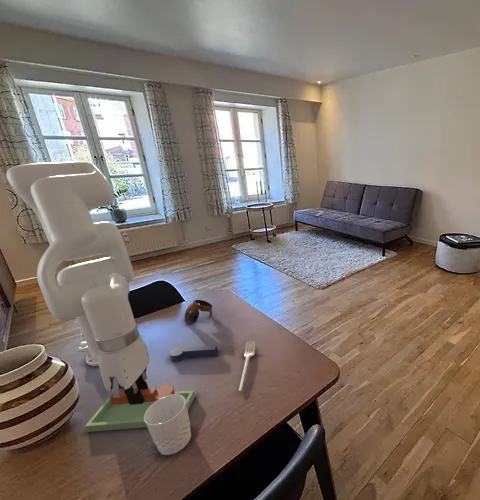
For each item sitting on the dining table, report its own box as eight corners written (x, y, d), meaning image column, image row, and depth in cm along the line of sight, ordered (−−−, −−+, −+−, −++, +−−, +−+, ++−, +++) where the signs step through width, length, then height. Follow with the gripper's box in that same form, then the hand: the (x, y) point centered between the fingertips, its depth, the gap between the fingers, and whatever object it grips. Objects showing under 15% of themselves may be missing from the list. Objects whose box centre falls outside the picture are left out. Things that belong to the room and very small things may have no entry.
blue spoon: (219, 349, 97) (218, 343, 96) (214, 358, 93) (213, 352, 92) (174, 352, 96) (173, 346, 95) (168, 361, 92) (166, 355, 91)
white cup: (166, 426, 71) (155, 395, 67) (199, 424, 72) (191, 392, 68) (147, 460, 64) (135, 426, 60) (185, 456, 64) (175, 423, 61)
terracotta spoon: (108, 409, 71) (105, 401, 70) (120, 394, 75) (117, 387, 74) (170, 404, 72) (167, 396, 71) (178, 390, 76) (176, 382, 75)
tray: (87, 432, 70) (84, 426, 69) (111, 402, 78) (109, 396, 77) (181, 424, 72) (179, 418, 71) (195, 395, 80) (194, 390, 79)
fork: (234, 393, 80) (233, 388, 79) (246, 346, 99) (245, 341, 98) (246, 392, 80) (245, 386, 80) (256, 345, 99) (255, 340, 98)
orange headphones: (186, 315, 117) (193, 296, 117) (210, 322, 120) (217, 304, 120) (175, 325, 106) (184, 304, 106) (202, 333, 108) (210, 312, 108)
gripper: (123, 319, 74) (142, 376, 80) (73, 363, 59) (101, 429, 65) (154, 317, 74) (171, 374, 81) (112, 360, 60) (137, 426, 66)
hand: (140, 398), depth 73 cm, fingers closed on terracotta spoon, 1 cm apart
